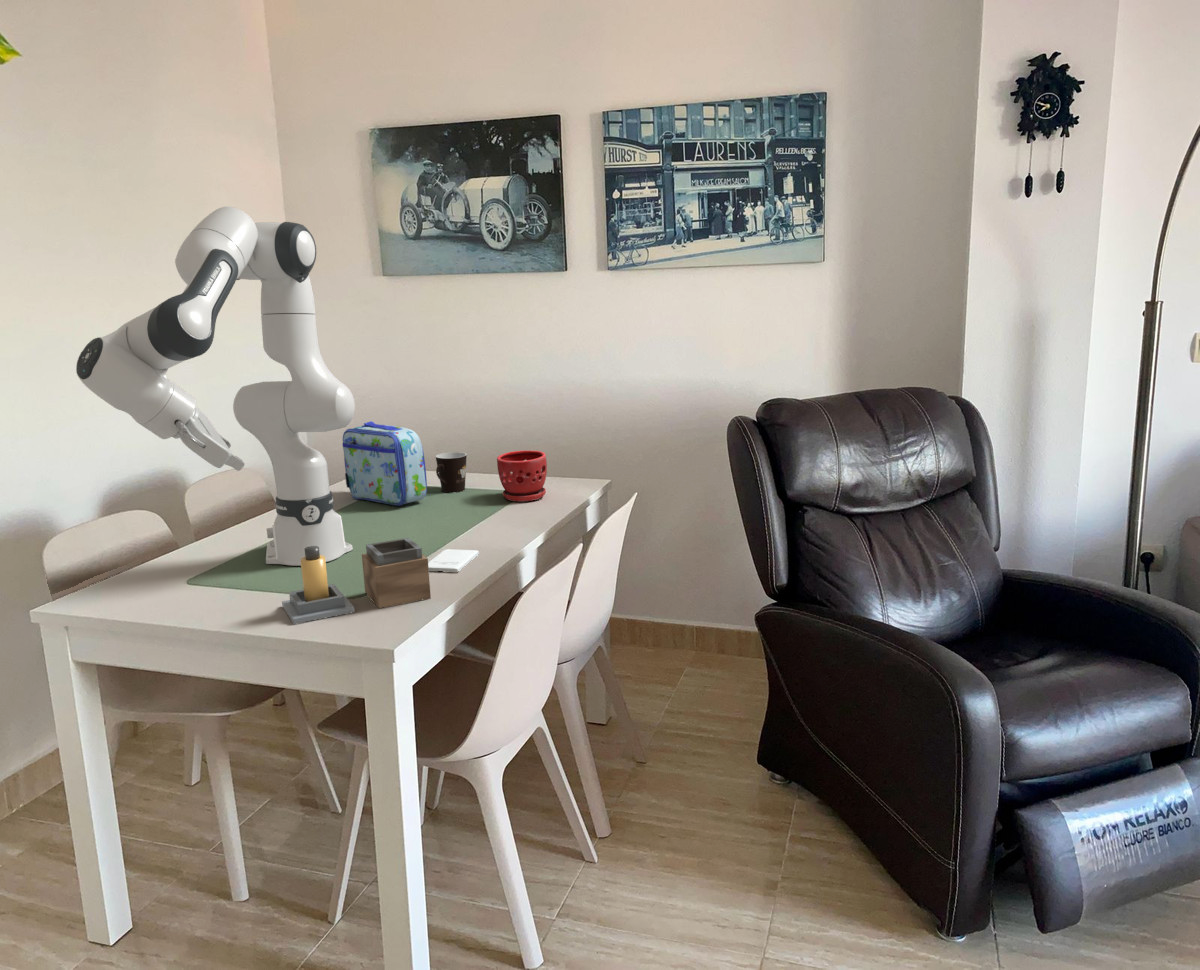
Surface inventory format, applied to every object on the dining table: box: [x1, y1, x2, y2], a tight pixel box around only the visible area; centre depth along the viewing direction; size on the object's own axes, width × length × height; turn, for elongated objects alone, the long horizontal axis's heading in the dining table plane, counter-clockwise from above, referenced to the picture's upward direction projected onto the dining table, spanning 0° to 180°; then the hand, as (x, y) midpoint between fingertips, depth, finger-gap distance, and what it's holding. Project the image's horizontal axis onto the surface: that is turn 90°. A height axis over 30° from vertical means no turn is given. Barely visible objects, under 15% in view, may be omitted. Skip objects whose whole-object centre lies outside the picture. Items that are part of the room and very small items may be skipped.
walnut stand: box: [361, 537, 432, 609], centre depth 186 cm, size 10×10×10 cm
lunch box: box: [342, 421, 428, 507], centre depth 260 cm, size 26×11×21 cm, turn 49°
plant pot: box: [496, 449, 548, 503], centre depth 259 cm, size 13×13×12 cm
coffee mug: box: [435, 451, 468, 494], centre depth 270 cm, size 12×9×10 cm
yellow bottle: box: [300, 546, 329, 602], centre depth 180 cm, size 4×4×11 cm
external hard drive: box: [428, 548, 480, 573], centre depth 207 cm, size 2×8×12 cm
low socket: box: [281, 583, 356, 625], centre depth 181 cm, size 11×11×3 cm
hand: (234, 456), depth 173 cm, fingers open, 8 cm apart
